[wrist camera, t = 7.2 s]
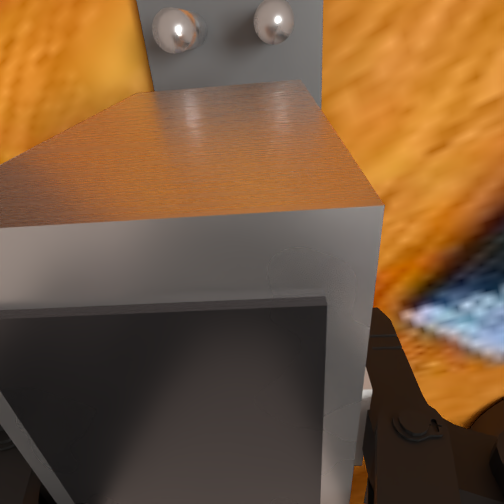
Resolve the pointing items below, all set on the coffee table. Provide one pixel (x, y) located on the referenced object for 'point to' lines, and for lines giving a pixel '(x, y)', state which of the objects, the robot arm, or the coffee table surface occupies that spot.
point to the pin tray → (233, 42)
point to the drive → (189, 301)
